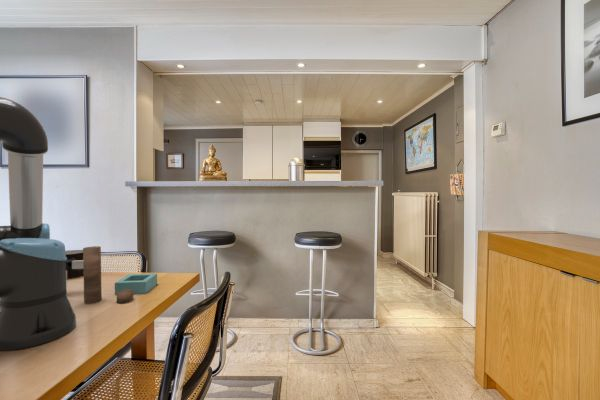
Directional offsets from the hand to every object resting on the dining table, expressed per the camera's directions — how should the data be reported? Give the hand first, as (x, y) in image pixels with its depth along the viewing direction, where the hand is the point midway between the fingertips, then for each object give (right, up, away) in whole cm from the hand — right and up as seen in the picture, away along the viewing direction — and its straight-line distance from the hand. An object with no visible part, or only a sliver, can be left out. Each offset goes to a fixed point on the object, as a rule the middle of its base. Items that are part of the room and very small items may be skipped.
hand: (81, 269), depth 90 cm
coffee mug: (-23, -9, +25) cm, 35 cm away
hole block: (+12, -10, +11) cm, 19 cm away
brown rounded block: (+14, -10, 0) cm, 17 cm away
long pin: (+4, -10, 0) cm, 11 cm away
